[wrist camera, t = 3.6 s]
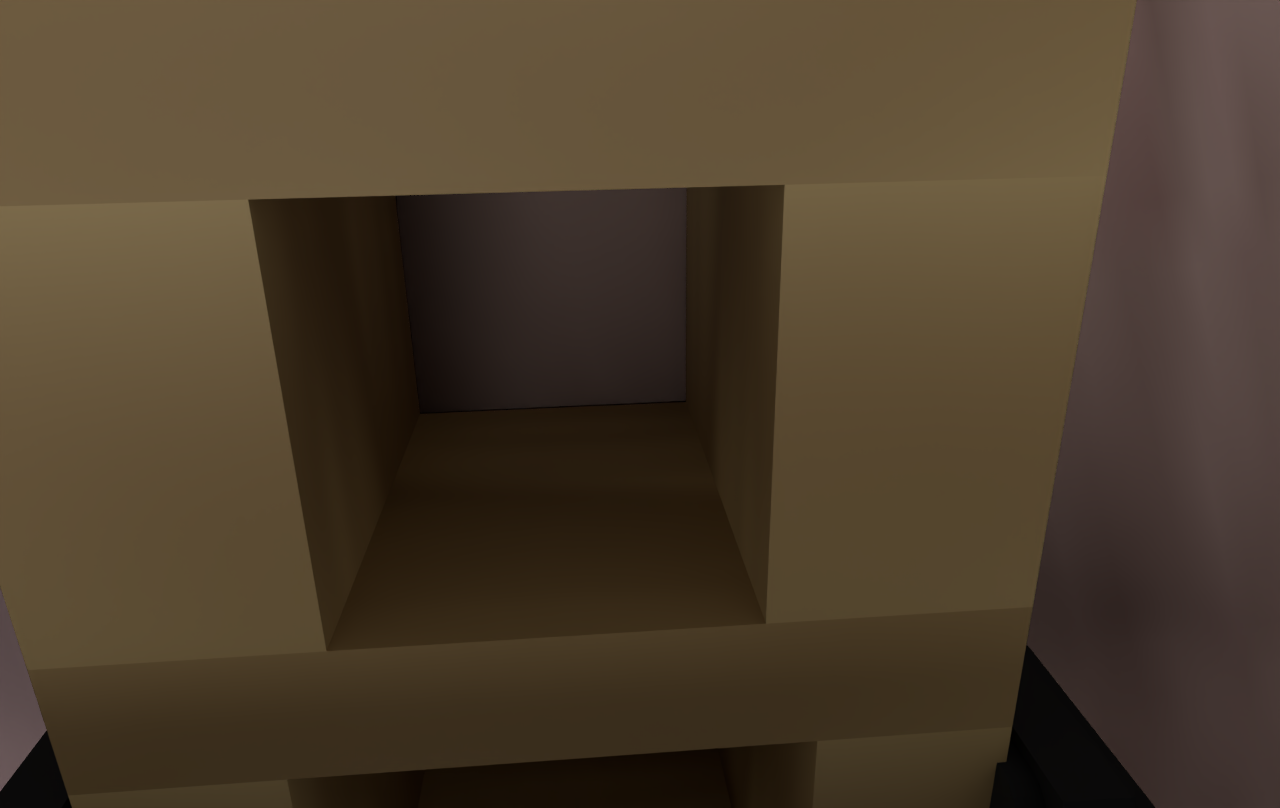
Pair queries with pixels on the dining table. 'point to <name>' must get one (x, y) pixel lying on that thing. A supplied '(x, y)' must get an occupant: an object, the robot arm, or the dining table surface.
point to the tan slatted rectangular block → (548, 437)
